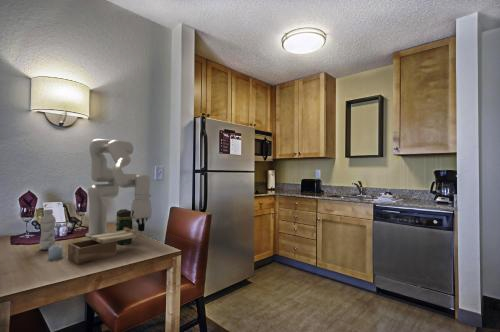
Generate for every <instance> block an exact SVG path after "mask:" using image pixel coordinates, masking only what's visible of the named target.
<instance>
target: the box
mask: <svg viewBox="0 0 500 332" xmlns="http://www.w3.org/2000/svg"><path fill="white" fill-rule="evenodd" d="M67 247H68V248H67V250H68V251H67V252H68V253H67V259H68V260H69V261H71V262H73V263H75V264H76V265H78V266H81V265H85V264H89V263H92V262H96V261H99V260H104V259H105V260H106V259H108V258H112V256H113V257H116V256H117V242H116V241H114V242H110V243H105V244H102V243H99V242H97V241H94V240H92V239H91V238H90V239H86V240H80V241H76V242H71V243H68V245H67Z"/></svg>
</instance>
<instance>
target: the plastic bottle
mask: <svg viewBox="0 0 500 332" xmlns="http://www.w3.org/2000/svg"><path fill="white" fill-rule="evenodd" d="M56 219H57V218H56V217H55V216H54V210H53V209H43V215H42V217H41V218H40V219H39V222H40V223H39V224H40V241H39V244H38V245H39V249H40V250H45V251H46V250H48V251H49V248H50V247H54V246H56V239H55V228H56Z"/></svg>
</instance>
